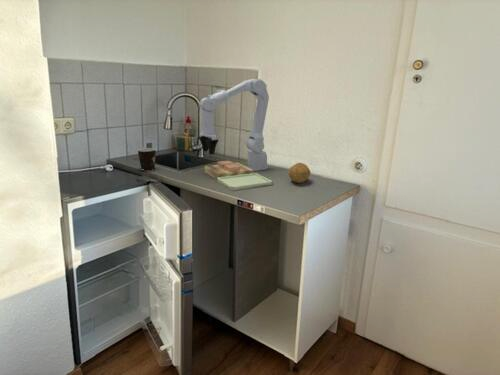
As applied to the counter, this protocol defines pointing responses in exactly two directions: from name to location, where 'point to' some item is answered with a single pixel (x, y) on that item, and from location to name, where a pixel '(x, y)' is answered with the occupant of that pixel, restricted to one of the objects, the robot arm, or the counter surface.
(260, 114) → the robot arm
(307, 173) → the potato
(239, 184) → the tray
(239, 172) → the flat food package
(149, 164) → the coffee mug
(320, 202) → the counter surface
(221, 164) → the tile rear
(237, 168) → the tile front
